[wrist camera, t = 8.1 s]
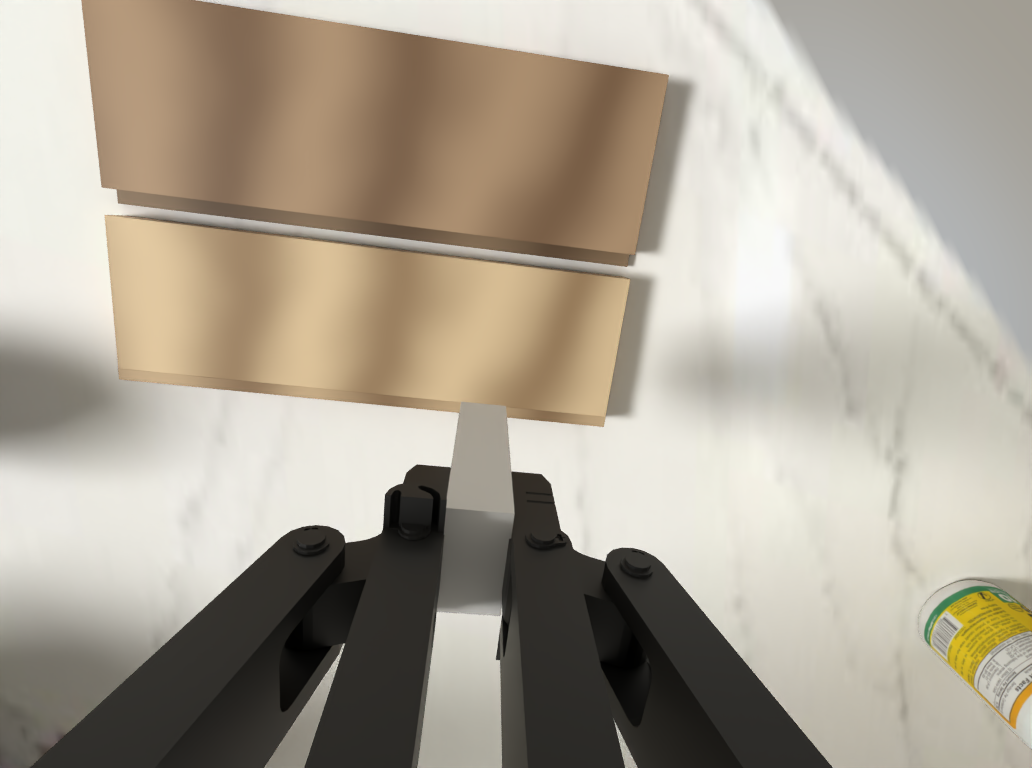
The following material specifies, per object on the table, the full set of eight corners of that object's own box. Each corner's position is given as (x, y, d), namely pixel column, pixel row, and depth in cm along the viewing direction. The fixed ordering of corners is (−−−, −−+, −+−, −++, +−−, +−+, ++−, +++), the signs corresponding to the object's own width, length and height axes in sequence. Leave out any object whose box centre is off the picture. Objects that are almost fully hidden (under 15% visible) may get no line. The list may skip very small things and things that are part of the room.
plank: (136, 371, 25) (119, 379, 24) (124, 215, 23) (104, 214, 22) (598, 417, 27) (603, 426, 25) (623, 276, 25) (630, 279, 23)
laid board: (122, 203, 23) (103, 202, 21) (102, -6, 20) (79, -18, 19) (625, 265, 24) (632, 268, 23) (659, 81, 22) (668, 75, 21)
